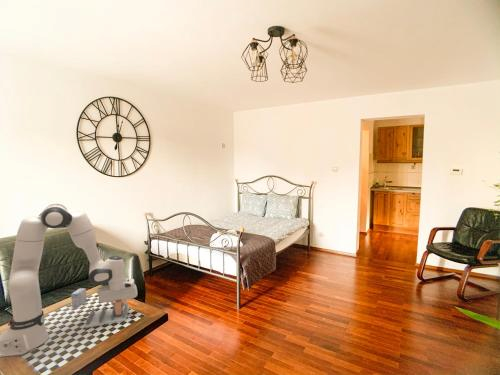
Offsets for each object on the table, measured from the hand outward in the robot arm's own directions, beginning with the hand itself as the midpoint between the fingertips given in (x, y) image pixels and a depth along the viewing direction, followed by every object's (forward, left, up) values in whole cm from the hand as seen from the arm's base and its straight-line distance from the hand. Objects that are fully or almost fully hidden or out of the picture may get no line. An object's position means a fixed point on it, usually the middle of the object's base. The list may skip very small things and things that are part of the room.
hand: (119, 306), depth 156 cm
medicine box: (-27, +23, -6) cm, 36 cm away
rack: (-6, 0, -5) cm, 8 cm away
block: (0, 0, -3) cm, 3 cm away
